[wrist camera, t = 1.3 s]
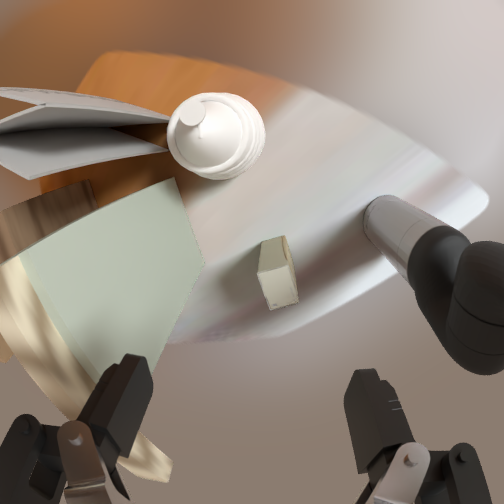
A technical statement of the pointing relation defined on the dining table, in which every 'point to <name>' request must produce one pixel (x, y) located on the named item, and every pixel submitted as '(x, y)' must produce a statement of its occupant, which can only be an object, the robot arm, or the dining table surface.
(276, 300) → the skincare box
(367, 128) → the dining table surface
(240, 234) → the dining table surface
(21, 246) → the walnut block
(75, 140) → the folded grey card
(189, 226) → the rack
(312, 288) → the dining table surface
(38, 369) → the birch strip
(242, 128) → the honey pot
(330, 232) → the dining table surface
